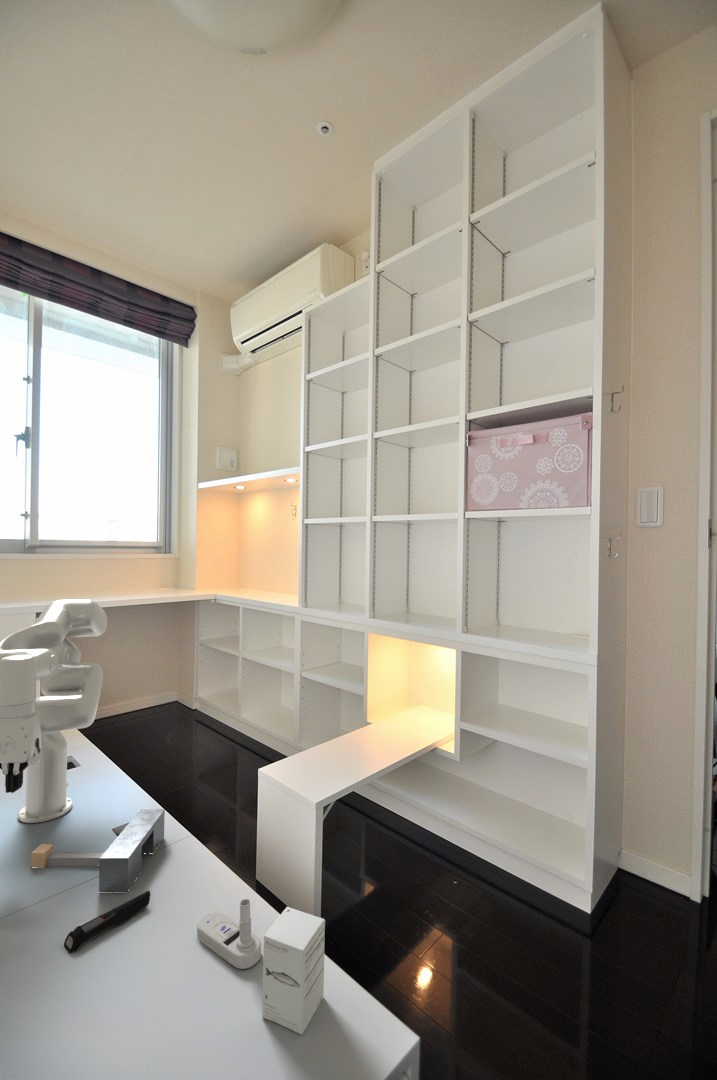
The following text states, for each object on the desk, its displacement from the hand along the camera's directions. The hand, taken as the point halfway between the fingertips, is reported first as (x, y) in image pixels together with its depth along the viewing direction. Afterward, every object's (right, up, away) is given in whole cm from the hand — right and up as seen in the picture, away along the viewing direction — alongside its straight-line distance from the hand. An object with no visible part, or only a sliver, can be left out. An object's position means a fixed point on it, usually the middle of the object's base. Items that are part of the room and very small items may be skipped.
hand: (13, 789), depth 114 cm
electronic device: (+56, -17, -24) cm, 63 cm away
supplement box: (+69, -16, -36) cm, 80 cm away
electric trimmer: (+32, -17, -19) cm, 41 cm away
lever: (+16, -17, 0) cm, 24 cm away
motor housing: (+28, -17, 0) cm, 33 cm away
